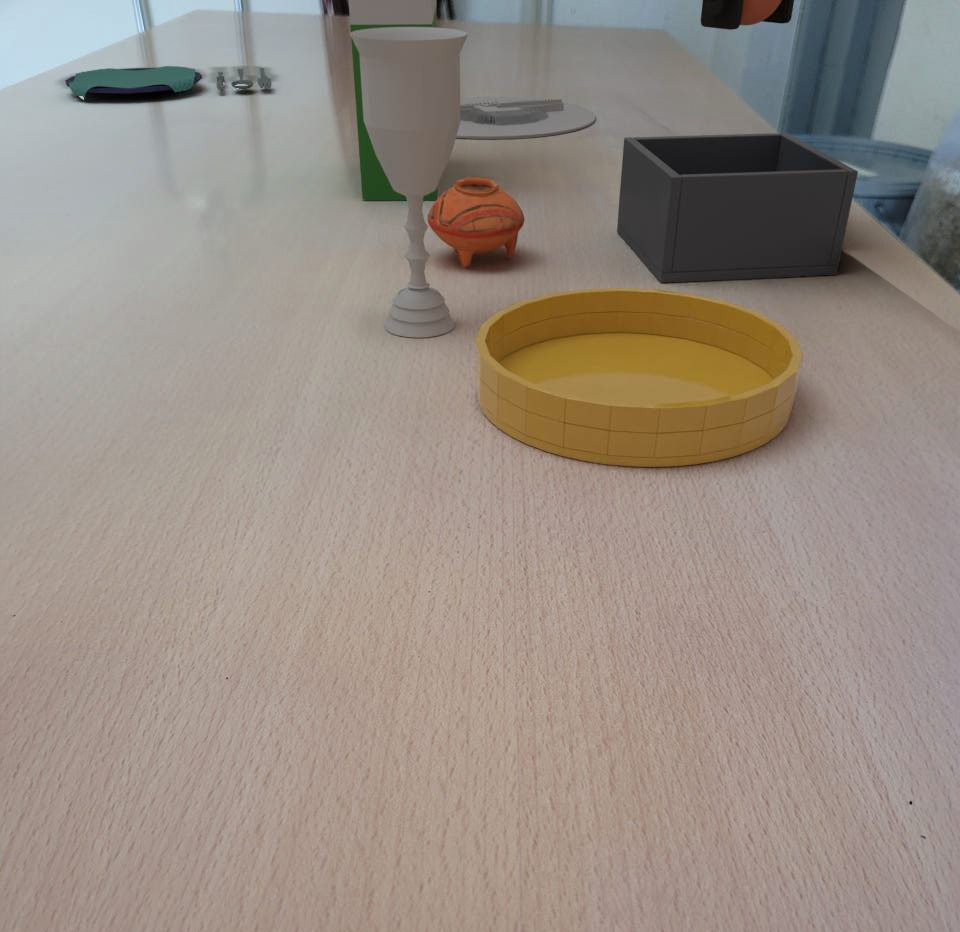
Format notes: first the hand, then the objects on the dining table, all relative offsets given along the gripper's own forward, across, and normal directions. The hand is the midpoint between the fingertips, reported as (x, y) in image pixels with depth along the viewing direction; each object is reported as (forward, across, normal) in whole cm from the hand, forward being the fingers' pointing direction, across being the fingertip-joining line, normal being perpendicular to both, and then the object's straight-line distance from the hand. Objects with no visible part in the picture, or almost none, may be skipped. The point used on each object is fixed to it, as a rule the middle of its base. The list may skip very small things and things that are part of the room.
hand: (746, 21), depth 72 cm
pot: (+17, -14, +14) cm, 26 cm away
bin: (+17, +3, +2) cm, 18 cm away
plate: (+17, +26, +62) cm, 69 cm away
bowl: (+17, -24, -14) cm, 33 cm away
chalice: (+17, -27, +4) cm, 32 cm away
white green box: (+17, -2, +41) cm, 44 cm away
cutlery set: (+17, +2, +109) cm, 110 cm away
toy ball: (-2, 0, 0) cm, 2 cm away
